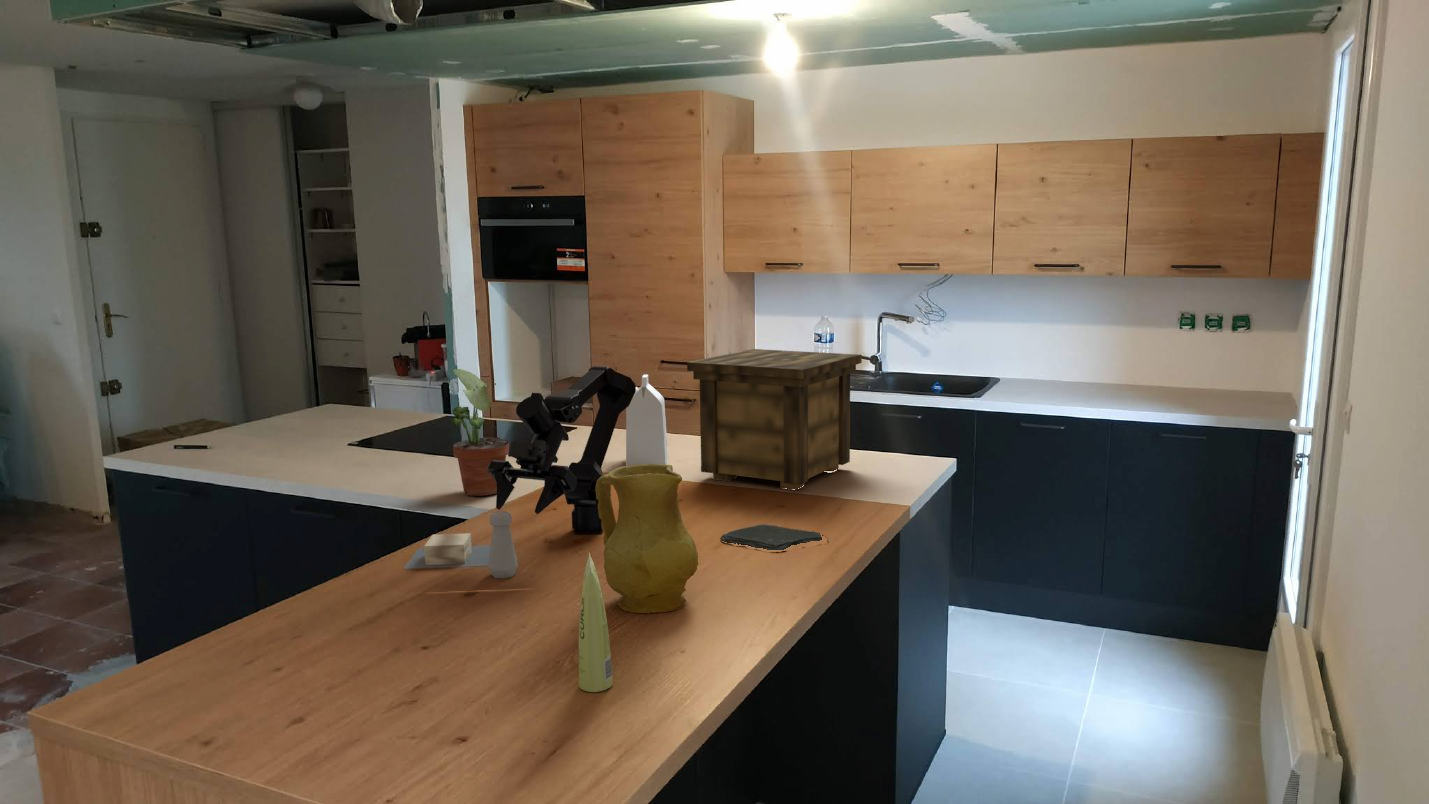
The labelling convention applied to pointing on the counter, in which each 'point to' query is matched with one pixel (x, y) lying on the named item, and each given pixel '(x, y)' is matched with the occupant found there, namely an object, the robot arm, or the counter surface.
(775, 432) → the crate
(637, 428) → the milk
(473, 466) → the potted plant
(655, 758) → the counter surface
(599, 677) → the tube
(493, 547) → the salt shaker
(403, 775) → the counter surface
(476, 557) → the mat
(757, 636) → the counter surface
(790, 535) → the stone slab
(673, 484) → the pitcher
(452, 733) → the counter surface
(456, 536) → the beech block
